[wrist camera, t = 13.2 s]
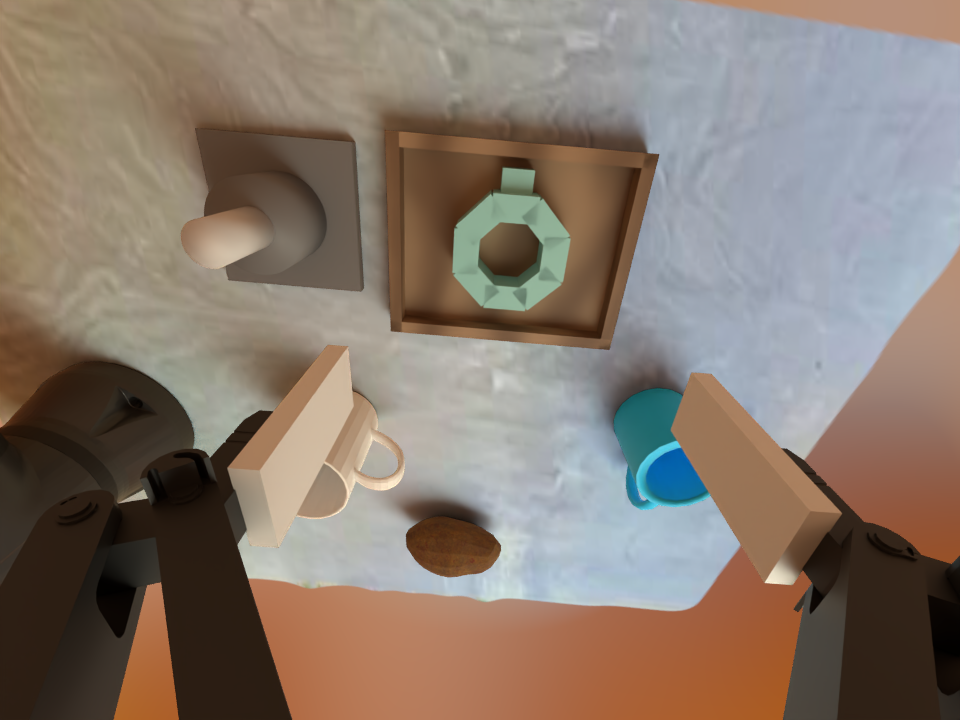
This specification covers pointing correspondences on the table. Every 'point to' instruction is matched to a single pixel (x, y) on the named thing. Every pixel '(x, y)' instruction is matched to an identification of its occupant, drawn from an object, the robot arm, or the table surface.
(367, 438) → the mug
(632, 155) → the tray
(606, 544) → the table surface
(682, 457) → the mug
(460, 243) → the ring
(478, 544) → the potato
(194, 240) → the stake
